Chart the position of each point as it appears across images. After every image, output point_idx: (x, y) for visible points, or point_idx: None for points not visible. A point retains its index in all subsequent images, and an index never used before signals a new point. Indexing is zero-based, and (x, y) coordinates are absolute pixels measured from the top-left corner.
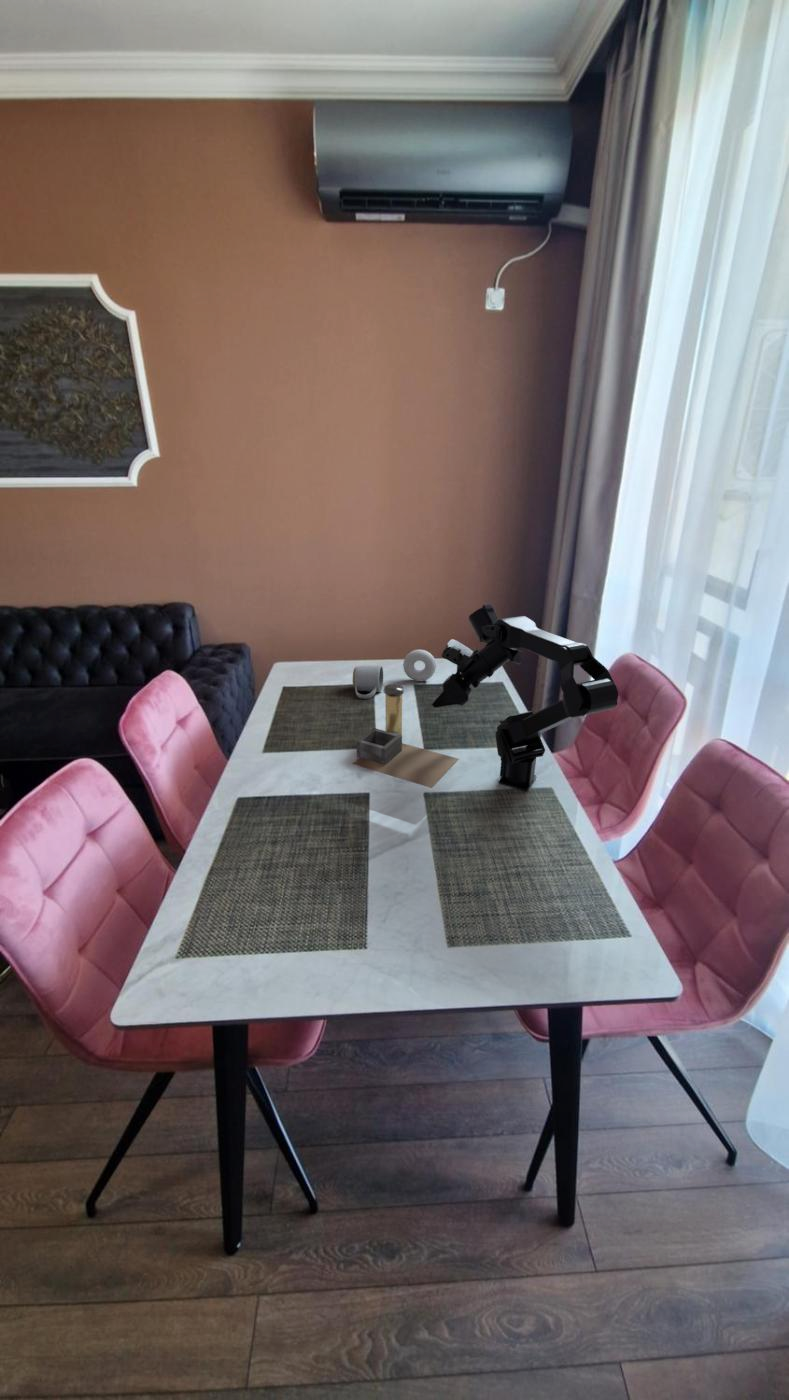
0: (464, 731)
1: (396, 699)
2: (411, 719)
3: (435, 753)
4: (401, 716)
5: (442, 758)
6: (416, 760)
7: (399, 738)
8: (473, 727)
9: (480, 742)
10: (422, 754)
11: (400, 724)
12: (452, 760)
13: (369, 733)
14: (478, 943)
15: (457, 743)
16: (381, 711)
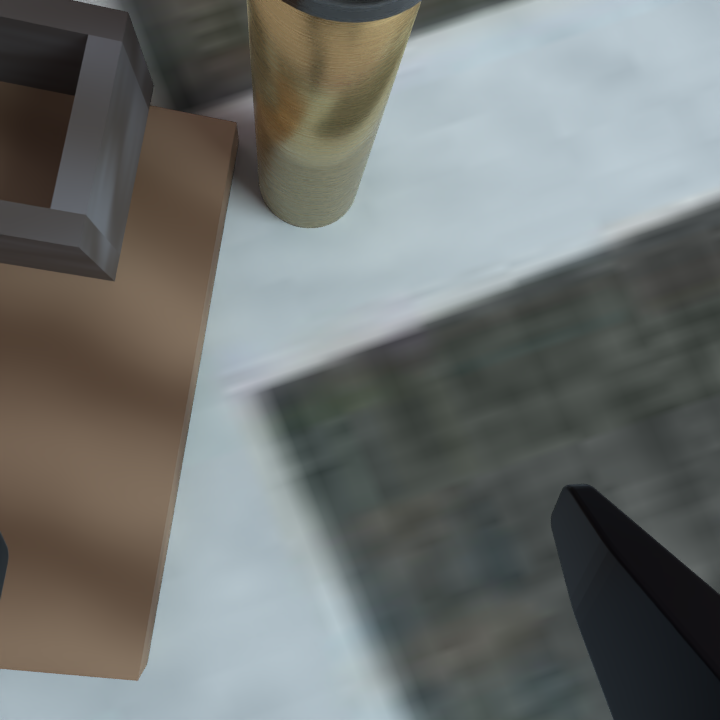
0: None
1: (263, 2)
2: (594, 199)
3: (153, 502)
4: (321, 150)
5: (101, 570)
6: (12, 414)
7: (38, 242)
8: None
9: (480, 699)
10: (110, 424)
11: (301, 176)
12: (97, 644)
13: (25, 8)
14: None
15: (412, 563)
16: (616, 6)
